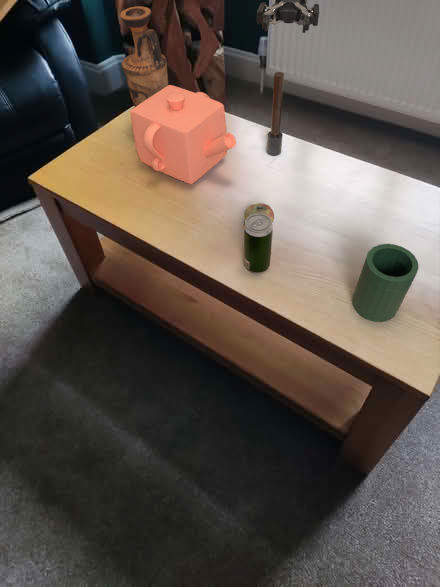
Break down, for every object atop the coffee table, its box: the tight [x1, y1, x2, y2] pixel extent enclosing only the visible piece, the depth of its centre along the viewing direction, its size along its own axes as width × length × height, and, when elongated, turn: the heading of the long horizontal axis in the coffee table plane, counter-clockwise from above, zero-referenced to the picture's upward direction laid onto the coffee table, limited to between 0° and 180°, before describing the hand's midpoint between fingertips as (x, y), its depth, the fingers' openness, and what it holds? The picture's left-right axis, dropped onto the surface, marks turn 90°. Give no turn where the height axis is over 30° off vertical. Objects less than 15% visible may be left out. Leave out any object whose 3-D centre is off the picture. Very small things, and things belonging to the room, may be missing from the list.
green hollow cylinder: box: [351, 243, 419, 323], centre depth 77 cm, size 8×8×12 cm
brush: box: [266, 71, 285, 157], centre depth 104 cm, size 4×4×20 cm
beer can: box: [243, 213, 274, 275], centre depth 84 cm, size 5×5×12 cm
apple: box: [243, 202, 275, 224], centre depth 93 cm, size 6×8×6 cm
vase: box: [119, 5, 169, 108], centre depth 107 cm, size 11×11×30 cm
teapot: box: [129, 84, 237, 185], centre depth 102 cm, size 25×23×18 cm
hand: (285, 27), depth 96 cm, fingers open, 8 cm apart
